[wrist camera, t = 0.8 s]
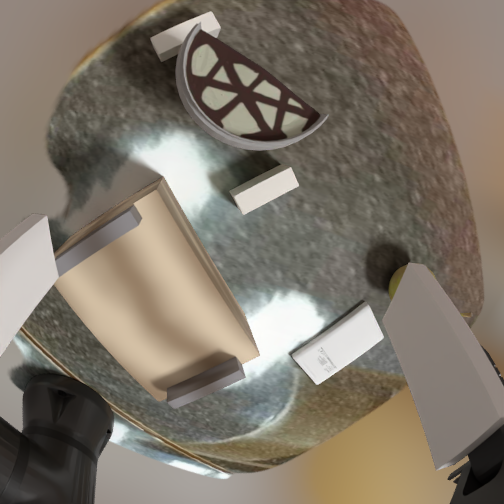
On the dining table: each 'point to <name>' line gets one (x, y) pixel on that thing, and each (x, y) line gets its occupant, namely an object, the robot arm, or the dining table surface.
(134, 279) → the wooden stand
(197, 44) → the food container
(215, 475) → the dining table surface
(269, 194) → the pair of white blocks
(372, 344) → the external hard drive
